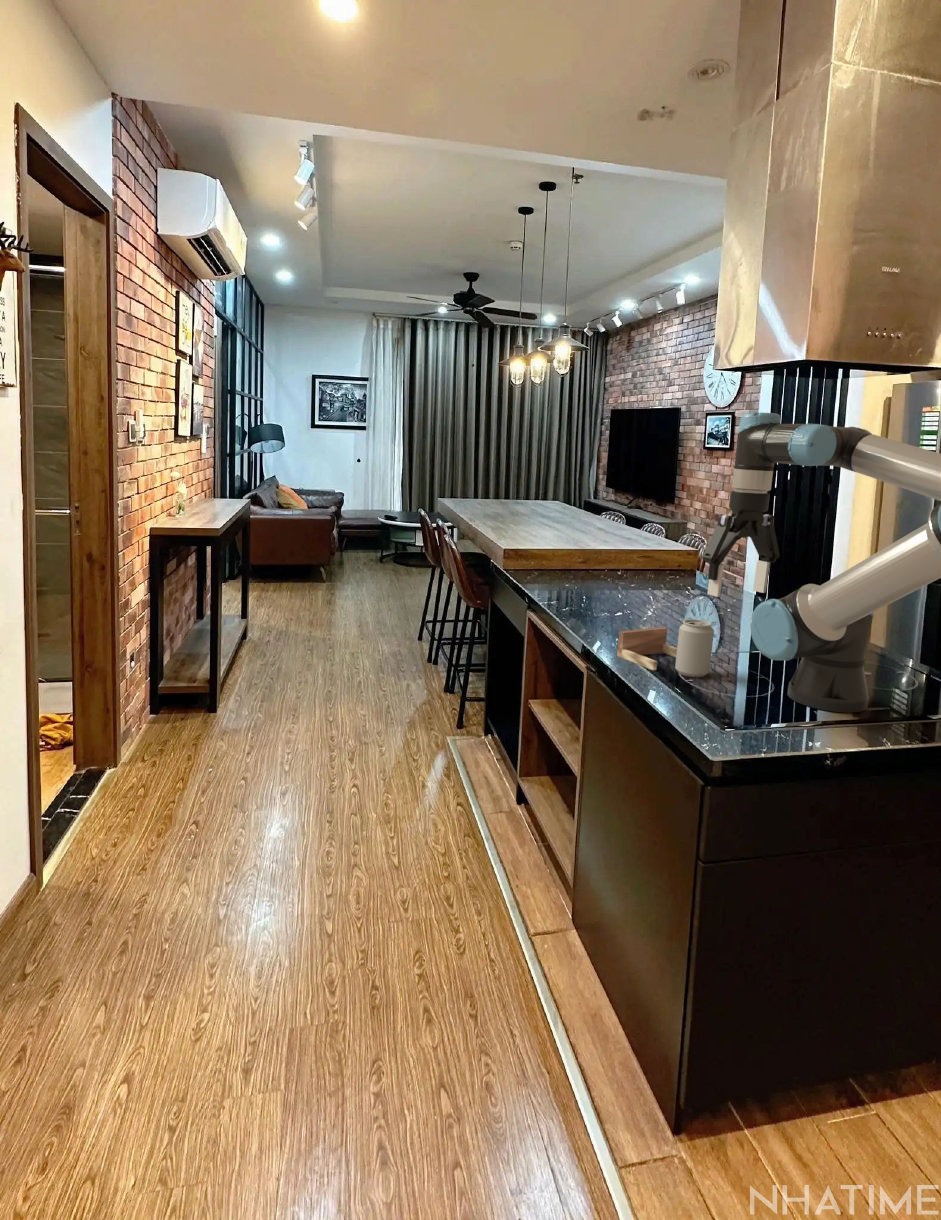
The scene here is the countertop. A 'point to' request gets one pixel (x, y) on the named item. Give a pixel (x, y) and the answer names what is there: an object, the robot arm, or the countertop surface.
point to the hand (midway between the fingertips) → (736, 593)
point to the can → (694, 648)
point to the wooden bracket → (644, 645)
